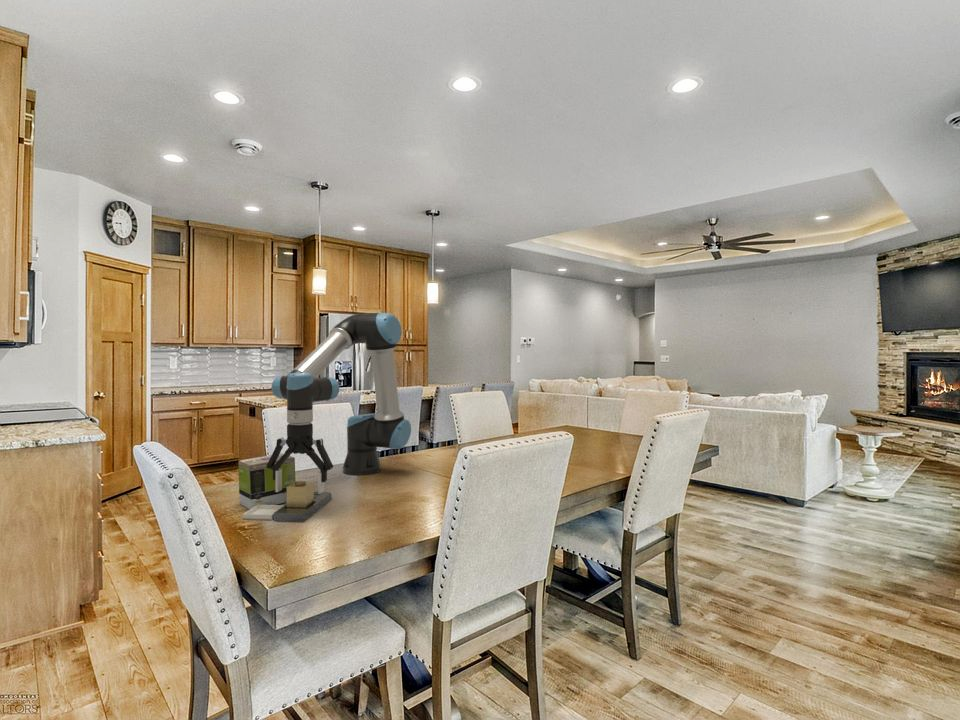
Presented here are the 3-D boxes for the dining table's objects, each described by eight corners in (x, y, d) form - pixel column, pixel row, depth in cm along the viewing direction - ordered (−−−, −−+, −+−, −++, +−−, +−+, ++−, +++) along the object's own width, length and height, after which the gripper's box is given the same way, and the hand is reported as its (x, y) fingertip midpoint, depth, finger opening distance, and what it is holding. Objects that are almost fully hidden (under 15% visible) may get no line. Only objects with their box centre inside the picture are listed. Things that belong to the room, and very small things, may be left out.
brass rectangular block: (295, 509, 164) (295, 479, 164) (313, 510, 164) (313, 479, 164) (286, 515, 158) (286, 484, 158) (305, 516, 158) (305, 485, 158)
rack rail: (305, 498, 175) (305, 491, 175) (331, 499, 175) (331, 491, 175) (274, 521, 154) (274, 512, 153) (303, 522, 153) (303, 513, 153)
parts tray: (258, 509, 164) (258, 504, 164) (285, 510, 163) (285, 505, 163) (242, 519, 155) (242, 514, 155) (271, 520, 154) (271, 515, 154)
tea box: (283, 494, 180) (283, 452, 180) (296, 501, 173) (296, 457, 172) (238, 504, 170) (237, 459, 169) (250, 511, 162) (249, 464, 162)
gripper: (254, 424, 157) (254, 493, 158) (334, 425, 155) (334, 496, 156) (267, 420, 165) (267, 487, 166) (343, 422, 163) (343, 489, 163)
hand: (299, 491), depth 161 cm, fingers open, 13 cm apart
